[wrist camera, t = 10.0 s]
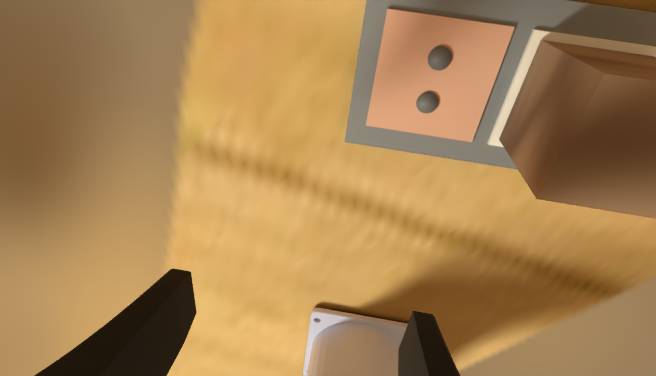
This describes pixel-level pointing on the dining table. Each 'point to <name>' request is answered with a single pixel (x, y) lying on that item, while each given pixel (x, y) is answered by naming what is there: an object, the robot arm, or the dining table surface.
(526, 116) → the walnut block
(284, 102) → the dining table surface
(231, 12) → the dining table surface
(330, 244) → the dining table surface
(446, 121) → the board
